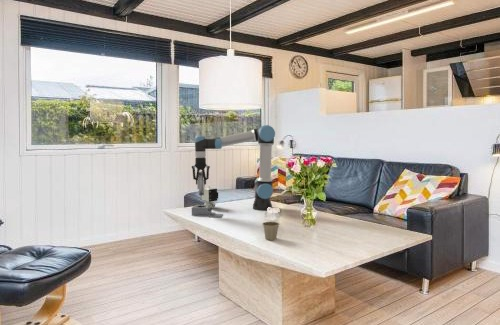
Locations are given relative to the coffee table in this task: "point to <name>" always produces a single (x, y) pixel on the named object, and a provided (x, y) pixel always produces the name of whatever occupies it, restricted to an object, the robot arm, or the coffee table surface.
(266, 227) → the flower pot
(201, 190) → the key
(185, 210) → the coffee table surface
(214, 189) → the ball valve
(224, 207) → the coffee table surface
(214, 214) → the pad
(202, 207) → the chuck
